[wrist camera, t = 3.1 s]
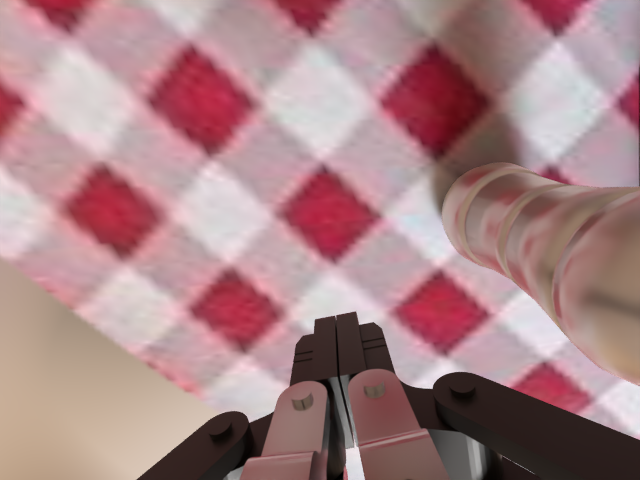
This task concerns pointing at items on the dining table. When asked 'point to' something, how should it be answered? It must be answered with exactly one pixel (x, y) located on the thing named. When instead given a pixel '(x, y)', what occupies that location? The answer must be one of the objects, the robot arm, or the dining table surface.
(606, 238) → the silver metal bottle
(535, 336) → the dining table surface
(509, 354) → the dining table surface
